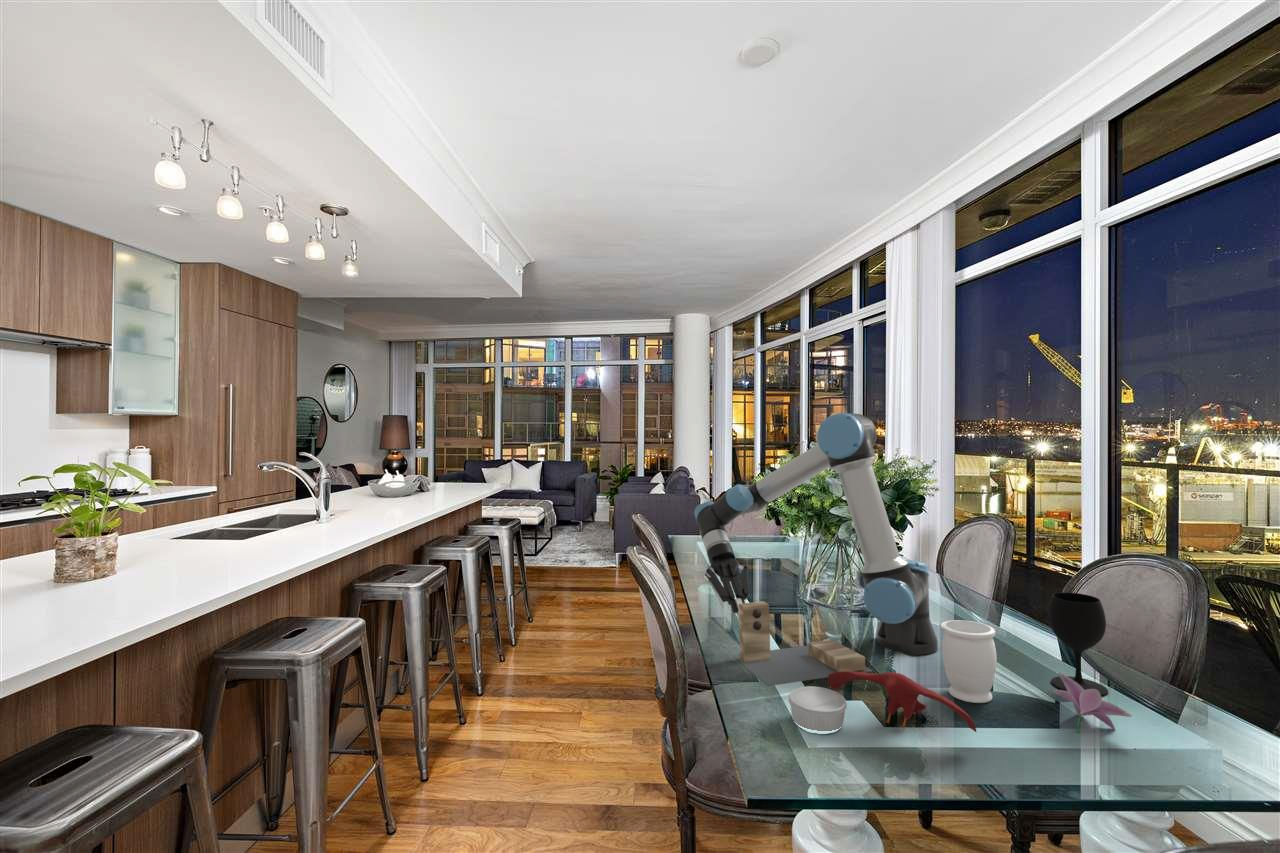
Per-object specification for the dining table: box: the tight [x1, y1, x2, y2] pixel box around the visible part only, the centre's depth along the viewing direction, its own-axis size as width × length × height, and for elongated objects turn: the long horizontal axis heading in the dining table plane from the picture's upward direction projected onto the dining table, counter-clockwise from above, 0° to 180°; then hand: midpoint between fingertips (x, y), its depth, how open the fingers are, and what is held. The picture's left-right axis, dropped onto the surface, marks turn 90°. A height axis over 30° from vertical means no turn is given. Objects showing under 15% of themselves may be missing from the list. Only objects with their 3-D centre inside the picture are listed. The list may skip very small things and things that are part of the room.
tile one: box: [807, 639, 867, 672], centre depth 148 cm, size 3×7×14 cm
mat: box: [731, 645, 874, 687], centre depth 149 cm, size 28×20×1 cm
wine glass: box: [1047, 592, 1109, 698], centre depth 133 cm, size 10×10×20 cm
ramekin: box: [788, 685, 847, 731], centre depth 119 cm, size 11×11×5 cm
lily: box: [1051, 672, 1132, 734], centre depth 115 cm, size 12×12×10 cm
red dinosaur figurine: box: [827, 671, 978, 733], centre depth 118 cm, size 28×9×15 cm
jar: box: [941, 619, 997, 704], centre depth 130 cm, size 11×10×15 cm
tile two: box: [738, 601, 771, 663], centre depth 152 cm, size 3×7×14 cm, turn 105°
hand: (744, 622), depth 158 cm, fingers closed
